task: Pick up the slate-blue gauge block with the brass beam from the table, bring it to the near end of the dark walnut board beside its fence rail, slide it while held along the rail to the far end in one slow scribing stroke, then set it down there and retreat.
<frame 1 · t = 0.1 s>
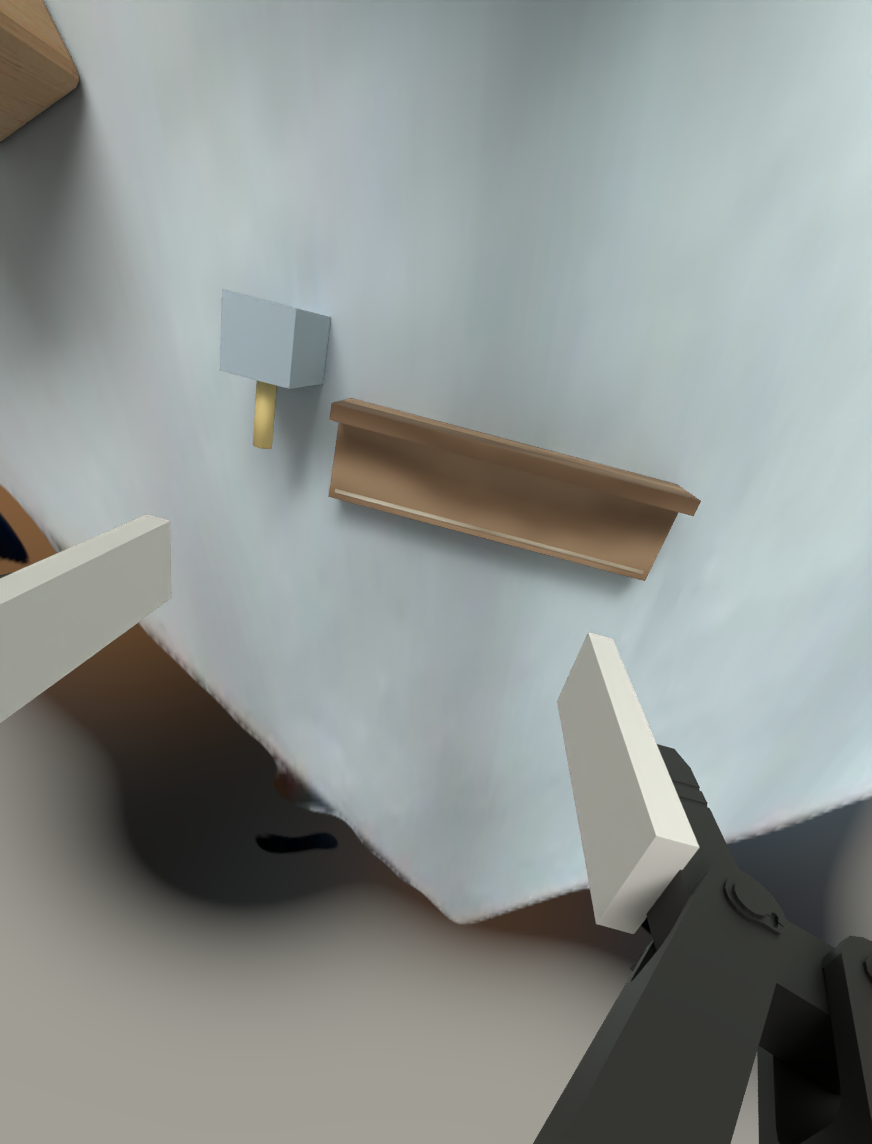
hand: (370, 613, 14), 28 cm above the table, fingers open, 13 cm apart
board: (499, 486, 40), on the table
gauge: (297, 343, 38), on the table
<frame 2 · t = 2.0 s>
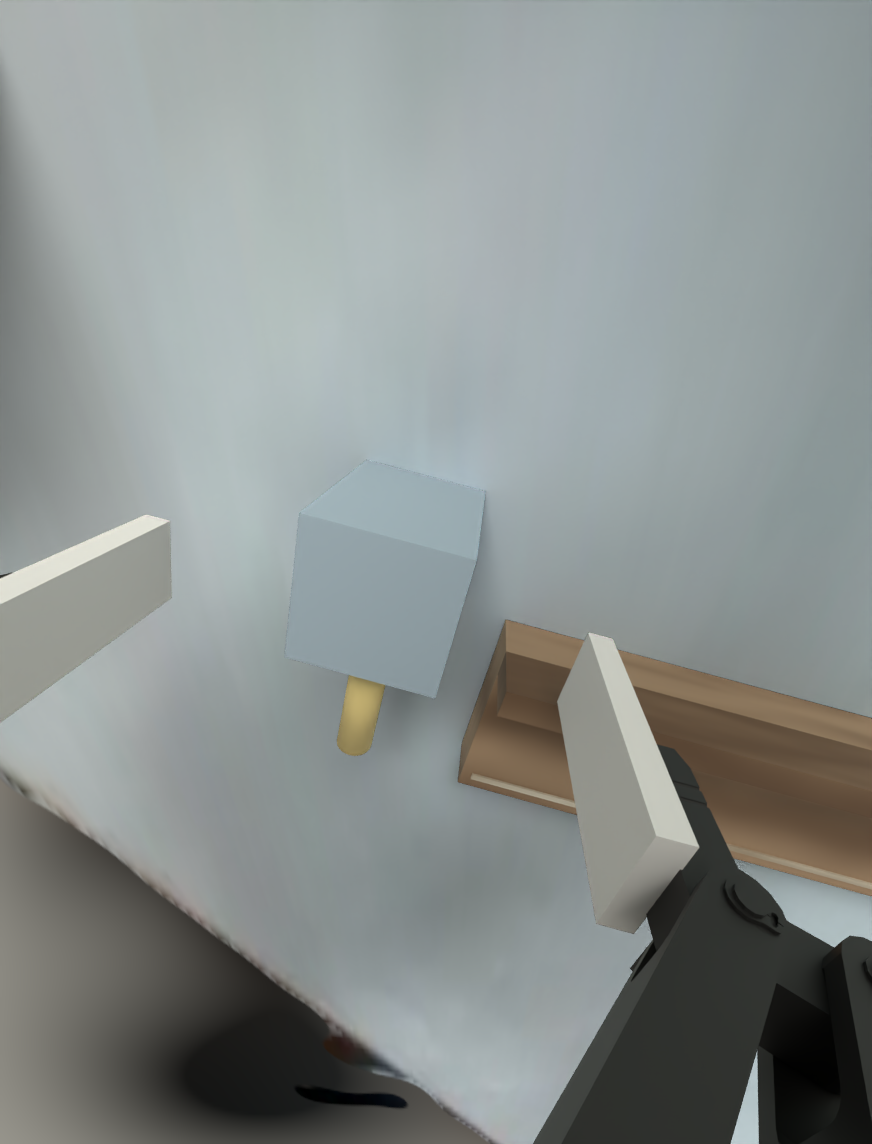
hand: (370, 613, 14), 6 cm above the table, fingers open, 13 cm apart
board: (759, 761, 23), on the table
gauge: (413, 531, 20), on the table
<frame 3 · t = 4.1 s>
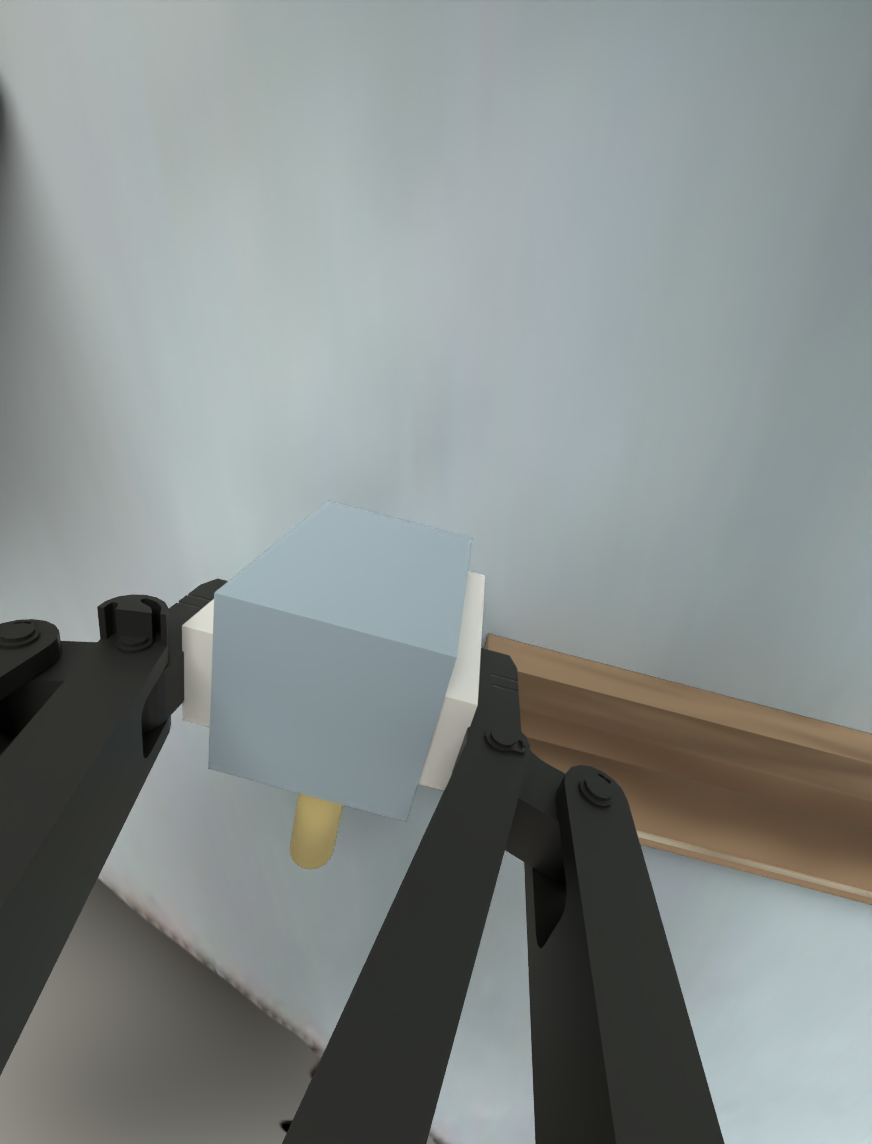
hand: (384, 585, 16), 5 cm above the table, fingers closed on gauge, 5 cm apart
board: (730, 767, 24), on the table
gauge: (386, 583, 17), point 5 cm above the table, touching gripper
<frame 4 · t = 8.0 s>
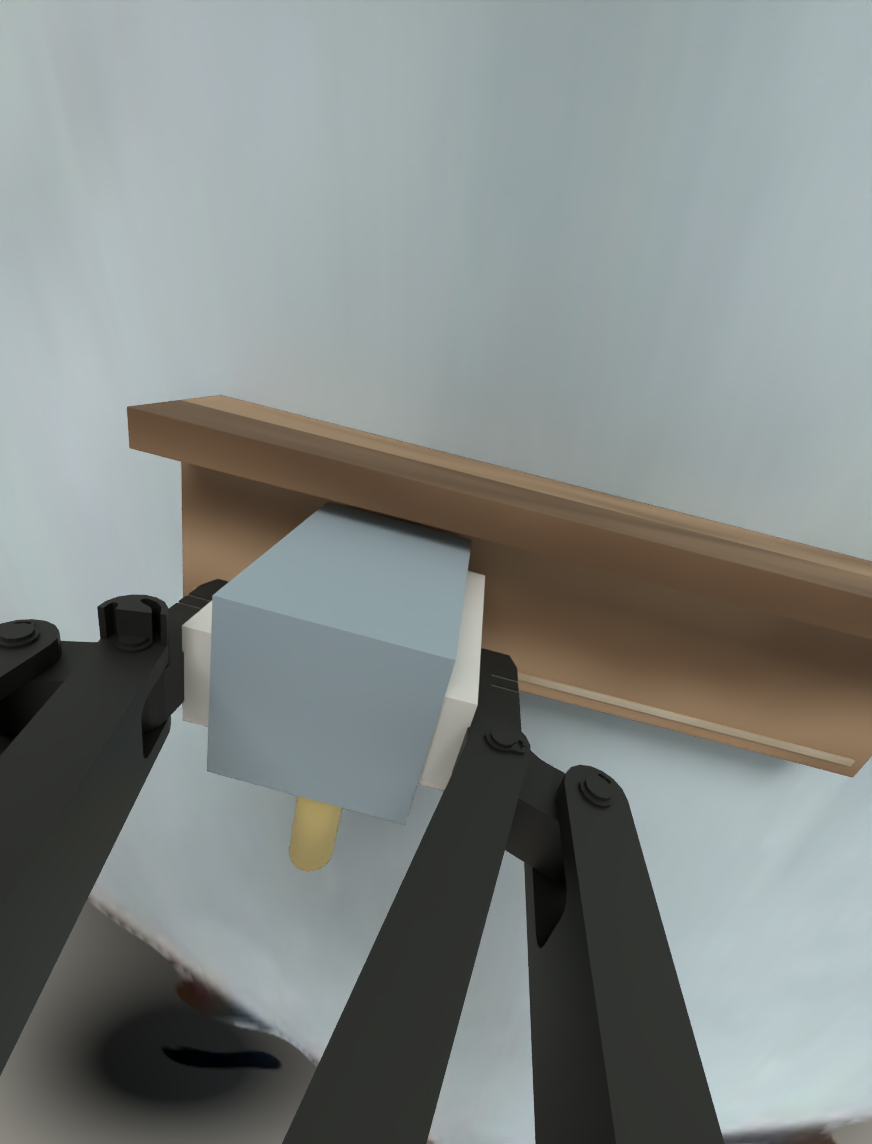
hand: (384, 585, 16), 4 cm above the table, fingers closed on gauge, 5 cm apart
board: (540, 577, 19), on the table
gauge: (385, 585, 17), point 3 cm above the table, touching gripper
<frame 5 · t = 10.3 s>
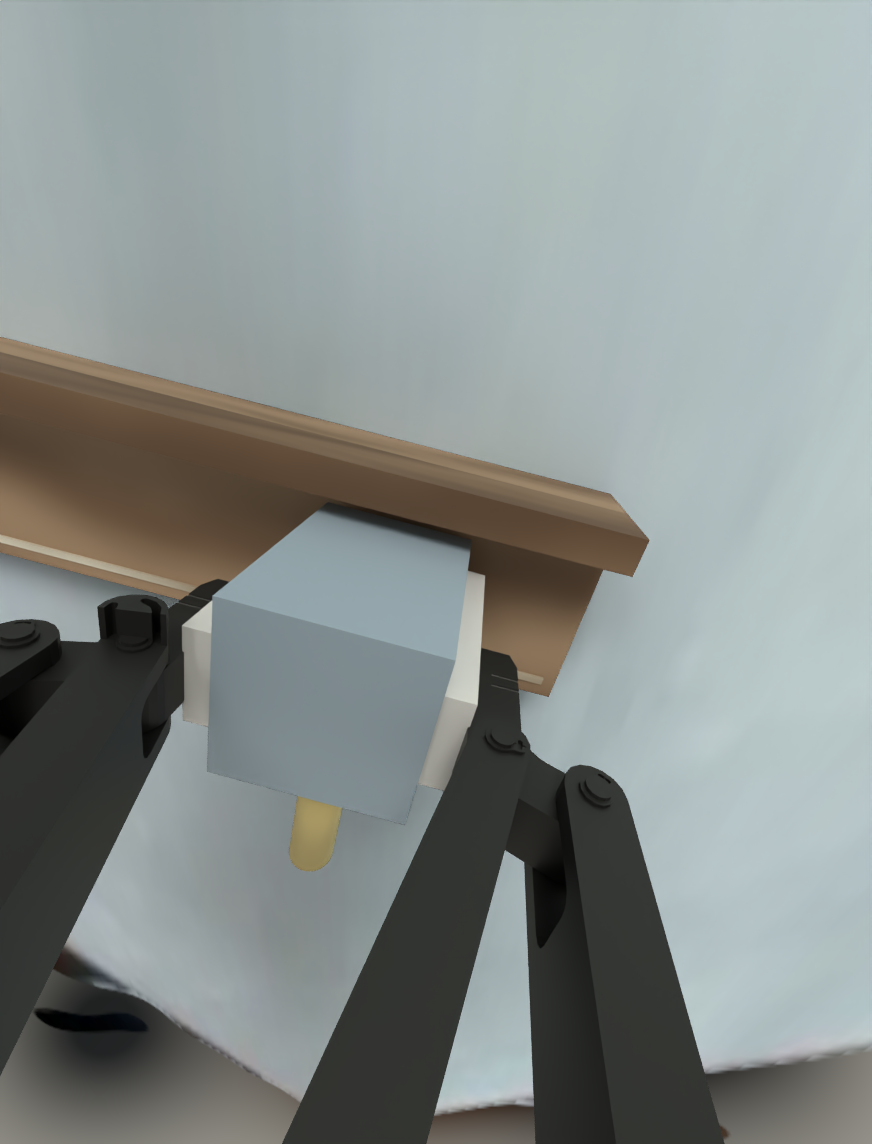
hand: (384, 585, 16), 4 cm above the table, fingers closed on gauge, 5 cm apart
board: (251, 500, 20), on the table
gauge: (386, 585, 17), point 3 cm above the table, touching gripper
when the fingers open (4 cm above the table, at t = 12.1 s): gauge stays where it is, resting on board.
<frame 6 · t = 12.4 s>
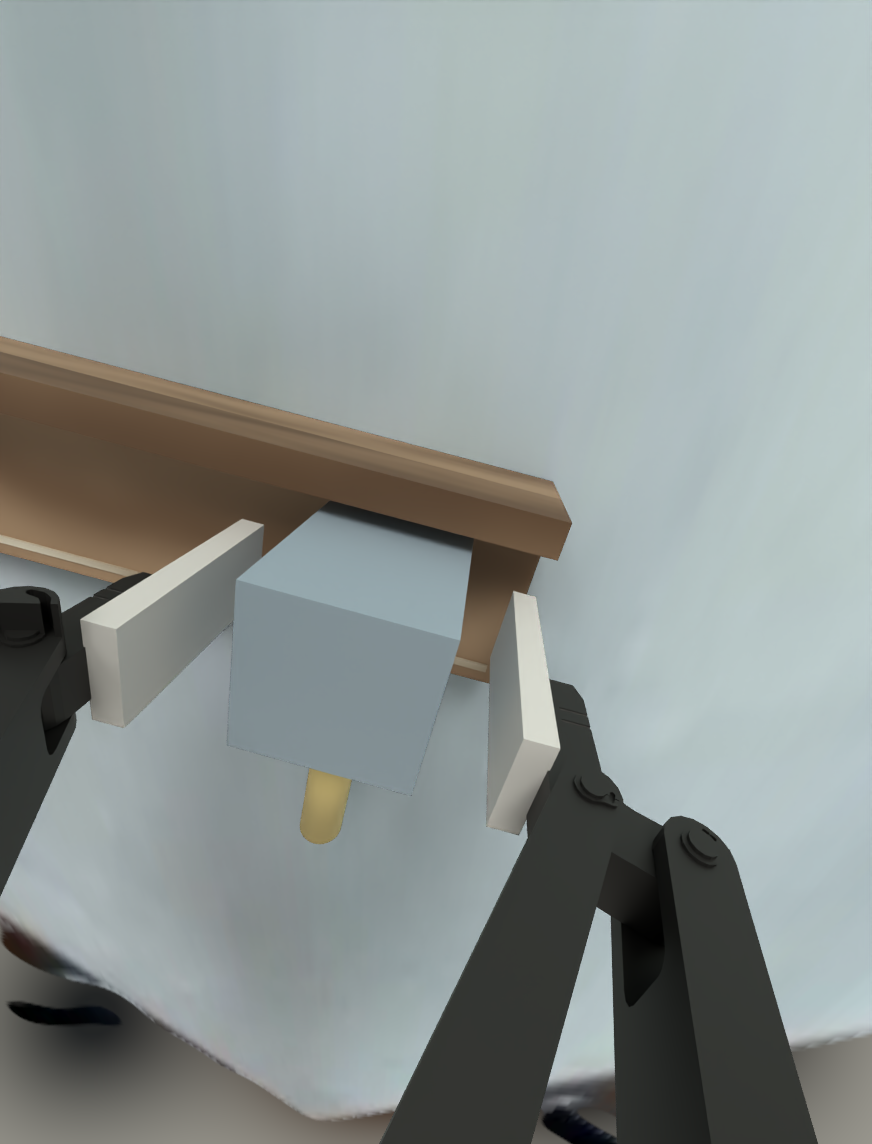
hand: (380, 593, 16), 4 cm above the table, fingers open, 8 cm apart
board: (199, 487, 20), on the table
gauge: (392, 575, 17), point 2 cm above the table, touching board
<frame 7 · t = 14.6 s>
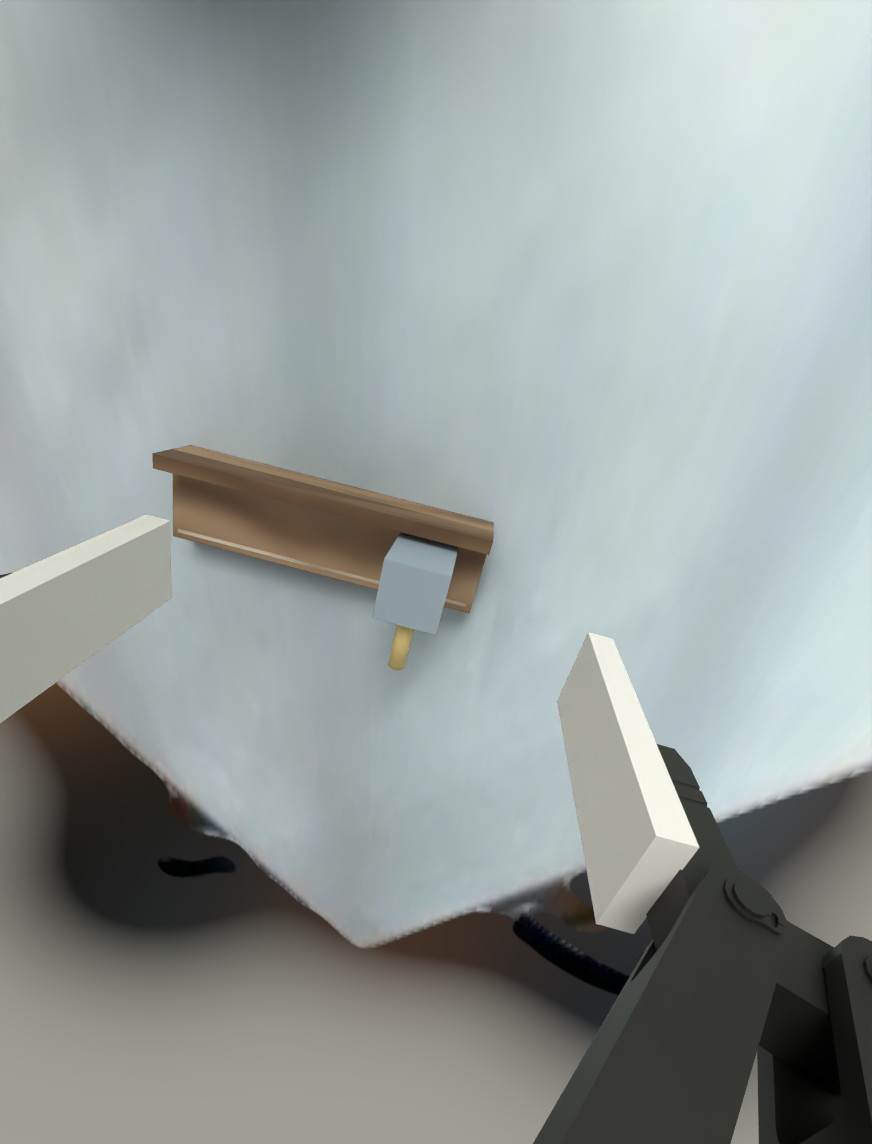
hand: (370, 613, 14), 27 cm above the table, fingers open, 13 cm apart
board: (334, 525, 43), on the table
gauge: (424, 563, 41), point 2 cm above the table, touching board
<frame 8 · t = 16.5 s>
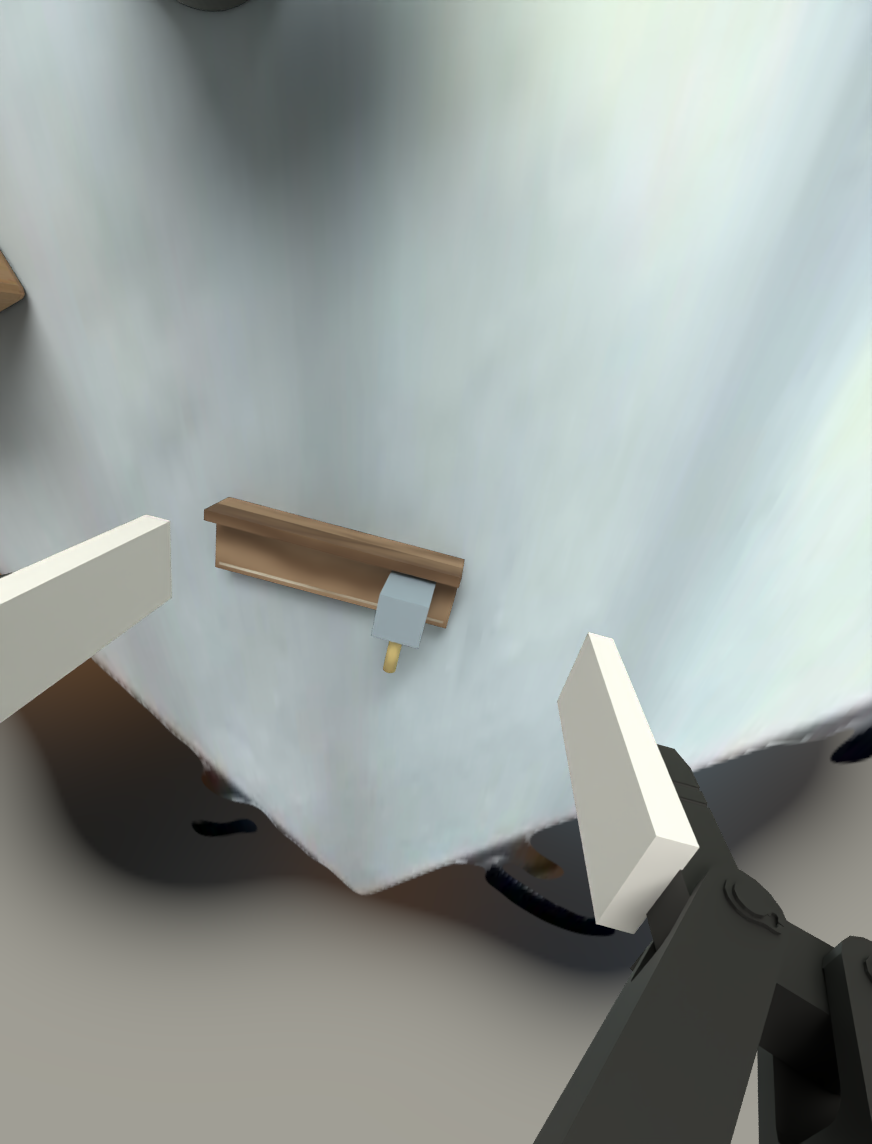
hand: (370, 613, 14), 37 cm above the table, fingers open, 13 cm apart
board: (341, 559, 55), on the table
gauge: (411, 590, 53), point 2 cm above the table, touching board
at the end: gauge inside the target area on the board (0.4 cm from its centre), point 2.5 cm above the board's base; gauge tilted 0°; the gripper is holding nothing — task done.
